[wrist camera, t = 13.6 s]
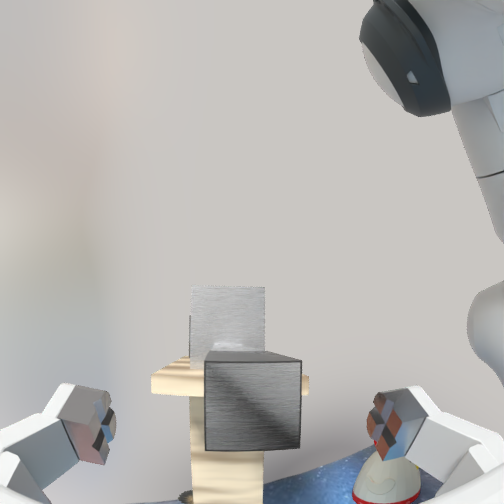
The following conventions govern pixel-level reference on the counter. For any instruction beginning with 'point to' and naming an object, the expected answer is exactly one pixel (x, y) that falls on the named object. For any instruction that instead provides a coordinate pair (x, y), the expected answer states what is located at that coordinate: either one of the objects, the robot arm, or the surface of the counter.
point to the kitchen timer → (387, 481)
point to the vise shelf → (212, 462)
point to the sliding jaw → (242, 373)
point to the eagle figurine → (186, 497)
